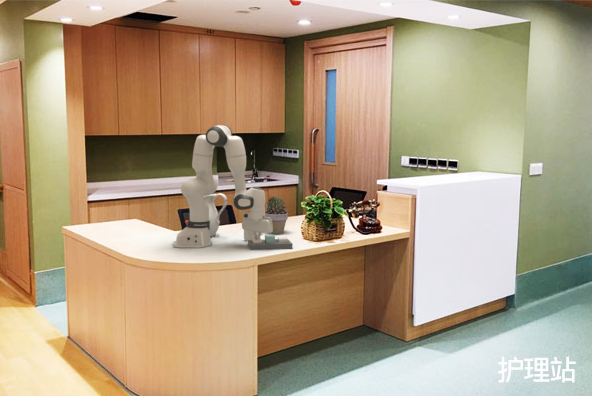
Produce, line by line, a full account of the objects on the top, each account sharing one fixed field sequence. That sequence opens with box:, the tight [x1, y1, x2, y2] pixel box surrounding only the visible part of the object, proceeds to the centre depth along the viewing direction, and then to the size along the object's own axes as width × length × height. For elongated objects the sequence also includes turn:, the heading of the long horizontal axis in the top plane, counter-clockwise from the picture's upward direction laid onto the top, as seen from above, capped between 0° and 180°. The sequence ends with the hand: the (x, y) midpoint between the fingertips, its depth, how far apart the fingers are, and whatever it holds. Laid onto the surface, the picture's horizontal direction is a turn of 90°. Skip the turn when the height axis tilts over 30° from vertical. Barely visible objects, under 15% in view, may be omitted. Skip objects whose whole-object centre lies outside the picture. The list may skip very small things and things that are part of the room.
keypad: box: [247, 238, 293, 251], centre depth 344 cm, size 24×13×3 cm, turn 103°
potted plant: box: [265, 195, 289, 235], centre depth 384 cm, size 18×20×25 cm
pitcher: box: [204, 192, 228, 238], centre depth 368 cm, size 24×17×28 cm
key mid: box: [264, 234, 276, 243], centre depth 343 cm, size 5×5×4 cm
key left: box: [252, 237, 263, 243], centre depth 342 cm, size 5×5×4 cm
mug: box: [243, 229, 264, 242], centre depth 359 cm, size 12×9×11 cm
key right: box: [277, 236, 289, 243], centre depth 345 cm, size 5×5×4 cm
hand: (257, 239), depth 341 cm, fingers closed, pressing on key left
